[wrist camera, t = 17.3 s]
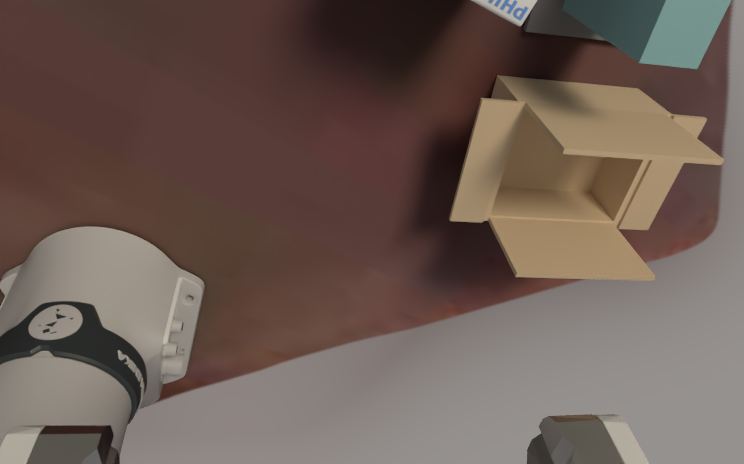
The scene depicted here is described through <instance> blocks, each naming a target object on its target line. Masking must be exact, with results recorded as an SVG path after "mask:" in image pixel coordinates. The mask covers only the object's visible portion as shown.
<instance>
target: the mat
mask: <svg viewBox="0 0 744 464" xmlns="http://www.w3.org/2000/svg"><path fill="white" fill-rule="evenodd" d="M564 2H565V0H537V2H536V3H535V5H534V6H533V8H532V10H531V11H530V13H529V15H528V16H527V18H526V21H525V25H524V28H523V30H524V31H525V32H533V33H542V34H551V35H560V36H569V37H578V38H587V39H596V40H605V39H604V38H602V37H601V36H599V35H598V34H597V33H595V32H594V31H592V30H591V29H589V28H588V27H586V26H585V25H584V24H582V23H581V22H579V21H578V20H576V19H575V18H573V17H572V16H571V15H569V14H568V13H566V12H565V11H563V10H562V8H563V5H564ZM605 41H607V40H605Z"/></svg>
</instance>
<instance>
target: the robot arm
mask: <svg viewBox="0 0 744 464" xmlns="http://www.w3.org/2000/svg"><path fill="white" fill-rule="evenodd" d="M0 289H1V291H2V292H3V294H4V295H5V298H4V300H3V302H2V304H1V306H0V464H120V461H119V459H120V458H119V457H120V452H121V448H122V444H123V439H124V435H125V432H126V428H127V425H128V424H129V423H130V421H131V420H132V419H133V417H134V415H135V413H137V411H138V410H139V409H141V408H144V407H147V406H149V405H151V404H153V403H155V402H156V401H157V400H158V399H159V397H160V394H161V390H162V386H163V384H165V383H169V382H172V381H175V380H178V379H180V378H182V377H184V376H185V374H186V371H187V368H188V364H189V360H190V355H191V350H192V345H193V341H194V336H195V331H196V327H197V322H198V317H199V312H200V308H201V303H202V298H203V294H204V289H205V285H204V282H203V281H202V280H201V279H200V278H198V277H197V276H195V275H193V274H191V273H189V272H187V271H185V270H182V269H180V268H179V267H177V266H176V265H175V264H174V263H173V262H172V261H171V260H170V259H169V258H168V257H167V256H166V255H165V254H164V253H163V252H162V251H160V250H159V249H158V248H156V247H155V246H154V245H152V244H150V243H149V242H147V241H145V240H143V239H141V238H139V237H137V236H135V235H132V234H129V233H126V232H123V231H120V230H115V229H110V228H104V227H77V228H70V229H66V230H63V231H59V232H57V233H54V234H52V235H50V236H48V237H46V238H45V239H43V240H42V241H41V242H40V243H38V244H37V245H36V246H35V248H34V249H33V250H32V252H31V253H30V255H29V256H28V258H27V259H26V261H25V262H24V263H23V264H21V265H19V266H17V267H15V268H13V269H11V270H9V271H8V272H6V273H5V274H4V275H3V277H2V279H1V281H0ZM188 295H190V296H192V297H190V296H188ZM539 428H540V430H541V434H540V435H538V436H537V437H535V438H534V439H532V441H531V443H530V445H529V447H528V450H527V464H649V463H648V461H647V459H646V457H645V456H644V454H643V452H642V450H641V448H640V446H639V445H638V443H637V441H636V439H635V438H634V436H633V434H632V432H631V430H630V429H629V427H628V425H627V423H626V422H625V421H624V419H623V418H621V417H620V416H619V415H566V416H548V417H546V418H544V419H543V420H542V422H541V424H540V425H539Z"/></svg>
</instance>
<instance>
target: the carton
mask: <svg viewBox="0 0 744 464" xmlns="http://www.w3.org/2000/svg"><path fill="white" fill-rule="evenodd" d="M706 121H707V119H706V118H705V117H697V116H685V115H674V114H671V113H669V112H668V111H667V110H665V109H664V108H663V107H661V106H660V105H659V104H658V103H656V102H655V101H654V100H652V99H651V98H650V97H648V96H647V95H646V94H644V93H643V92H642V91H641V90H639V89H638V88H628V87H617V86H607V85H596V84H585V83H575V82H564V81H554V80H543V79H533V78H522V77H512V76H501V75H497V78H496V82H495V85H494V89H493V92H492V96H491V99H490V98H481V99H480V103H479V107H478V111H477V114H476V118H475V122H474V126H473V130H472V133H471V137H470V141H469V145H468V148H467V152H466V156H465V160H464V163H463V167H462V171H461V175H460V179H459V182H458V186H457V190H456V194H455V197H454V201H453V205H452V209H451V212H450V216H449V220H450V221H459V222H481V223H483V221H488V222H489V224H490V226H491V228H492V230H493V232H494V234H495V236H496V238H497V240H498V242H499V244H500V246H501V248H502V250H503V252H504V255H505V257H506V259H507V261H508V263H509V265H510V267H511V269H512V271H513V273H514V275H515V277H535V278H571V279H607V280H608V279H609V280H642V281H643V280H645V281H654V280H655V278H656V277H655V275H654V274H653V273H652V272H651V271H650V269H649V268H648V267H647V265H646V264H645V263H644V262H643V260H642V259H641V258H640V257H639V255H638V254H637V253H636V252H635V250H634V249H633V248H632V247H631V245H630V244H629V243H628V242H627V240H626V239H625V238H624V236H623V235H622V234H621V233H620V231H619V230H618V229H634V230H648V229H649V227H650V225H651V223H652V221H653V219H654V218H655V216H656V214H657V212H658V210H659V208H660V206H661V204H662V203H663V201H664V199H665V197H666V195H667V193H668V191H669V190H670V188H671V186H672V184H673V182H674V180H675V178H676V177H677V175H678V173H679V171H680V169H681V167H682V165H683V163H699V164H713V165H722V163H723V162H724V159H722V158H721V157H720V156H718V155H717V154H716V153H715V152H713V151H712V150H711V149H710V148H708V147H707V146H706V145H704V144H703V143H702V142H701V141H699V140H698V139H697V137H698V136H699V134H700V132H701V130H702V128H703V126H704V124H705V122H706ZM616 227H618V229H617V228H616Z"/></svg>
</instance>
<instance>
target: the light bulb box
mask: <svg viewBox="0 0 744 464" xmlns="http://www.w3.org/2000/svg"><path fill="white" fill-rule="evenodd" d="M471 1H473V2H475V3H477V4H478V5H480V6H482V7H484V8H486V9H487V10H489V11H491V12H493V13H495V14H497V15H498V16H500V17H502V18H504V19H506V20H507V21H509V22H511V23H513V24H515V25H517V26H521V25H522V24H523V22H524V21H525V19H526V18H527V16H528V15H529V13H530V11H531V10H532V8H533V6H534V5H535V3H536V2H537V0H471Z"/></svg>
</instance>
